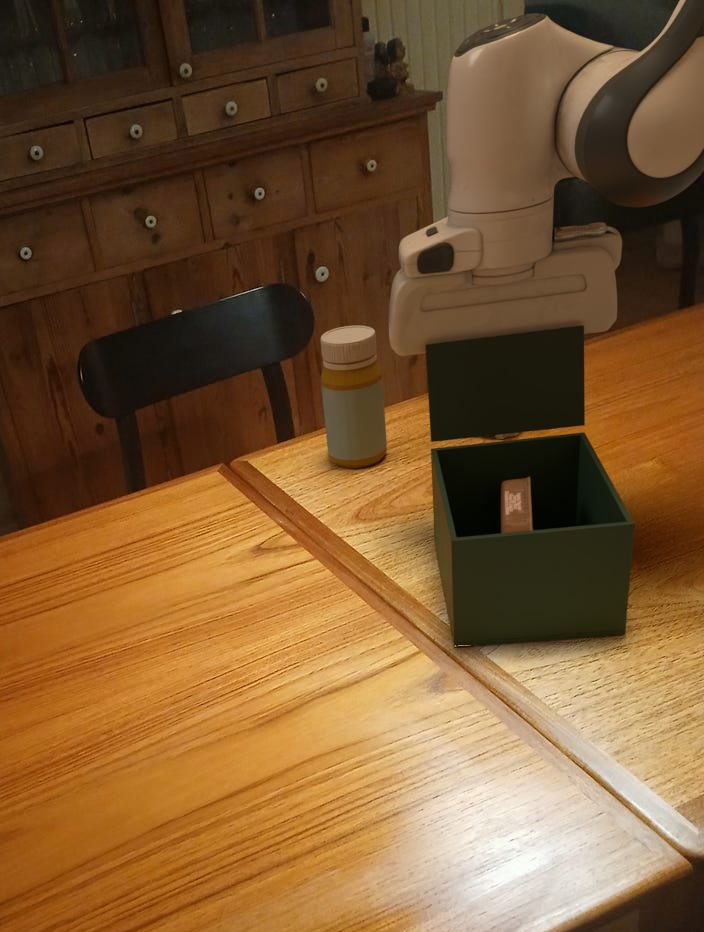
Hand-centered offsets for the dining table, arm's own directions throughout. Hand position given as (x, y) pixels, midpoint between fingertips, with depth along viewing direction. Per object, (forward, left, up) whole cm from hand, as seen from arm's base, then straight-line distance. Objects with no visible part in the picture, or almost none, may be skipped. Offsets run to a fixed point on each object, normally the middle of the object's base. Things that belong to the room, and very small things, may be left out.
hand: (499, 387), depth 94 cm
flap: (0, +4, +2) cm, 4 cm away
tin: (0, +14, -14) cm, 19 cm away
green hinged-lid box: (0, +14, -14) cm, 20 cm away
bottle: (+14, -18, -14) cm, 27 cm away
